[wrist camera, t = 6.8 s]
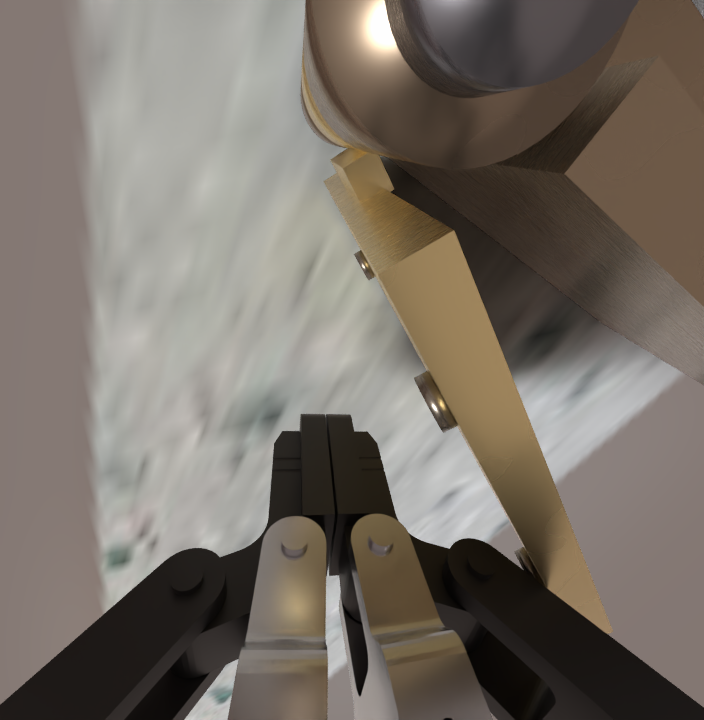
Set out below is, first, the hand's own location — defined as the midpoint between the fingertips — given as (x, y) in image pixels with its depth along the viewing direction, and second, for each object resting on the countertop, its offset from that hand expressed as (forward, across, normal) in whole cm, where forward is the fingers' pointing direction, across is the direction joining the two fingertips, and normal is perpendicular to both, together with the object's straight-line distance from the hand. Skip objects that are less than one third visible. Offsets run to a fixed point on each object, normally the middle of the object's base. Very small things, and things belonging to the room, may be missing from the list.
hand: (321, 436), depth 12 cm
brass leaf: (+3, -3, -5) cm, 7 cm away
